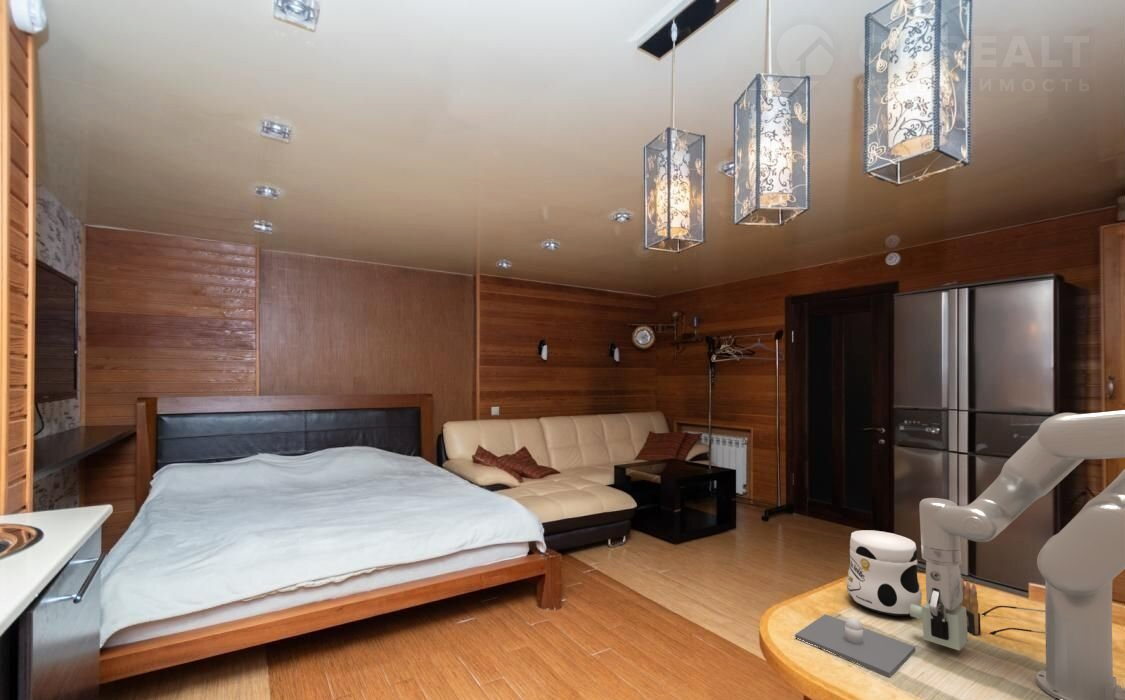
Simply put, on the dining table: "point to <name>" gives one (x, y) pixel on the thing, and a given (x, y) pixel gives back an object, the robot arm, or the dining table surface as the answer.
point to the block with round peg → (955, 625)
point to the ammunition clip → (971, 608)
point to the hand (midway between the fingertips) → (945, 631)
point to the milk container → (883, 572)
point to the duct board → (857, 644)
